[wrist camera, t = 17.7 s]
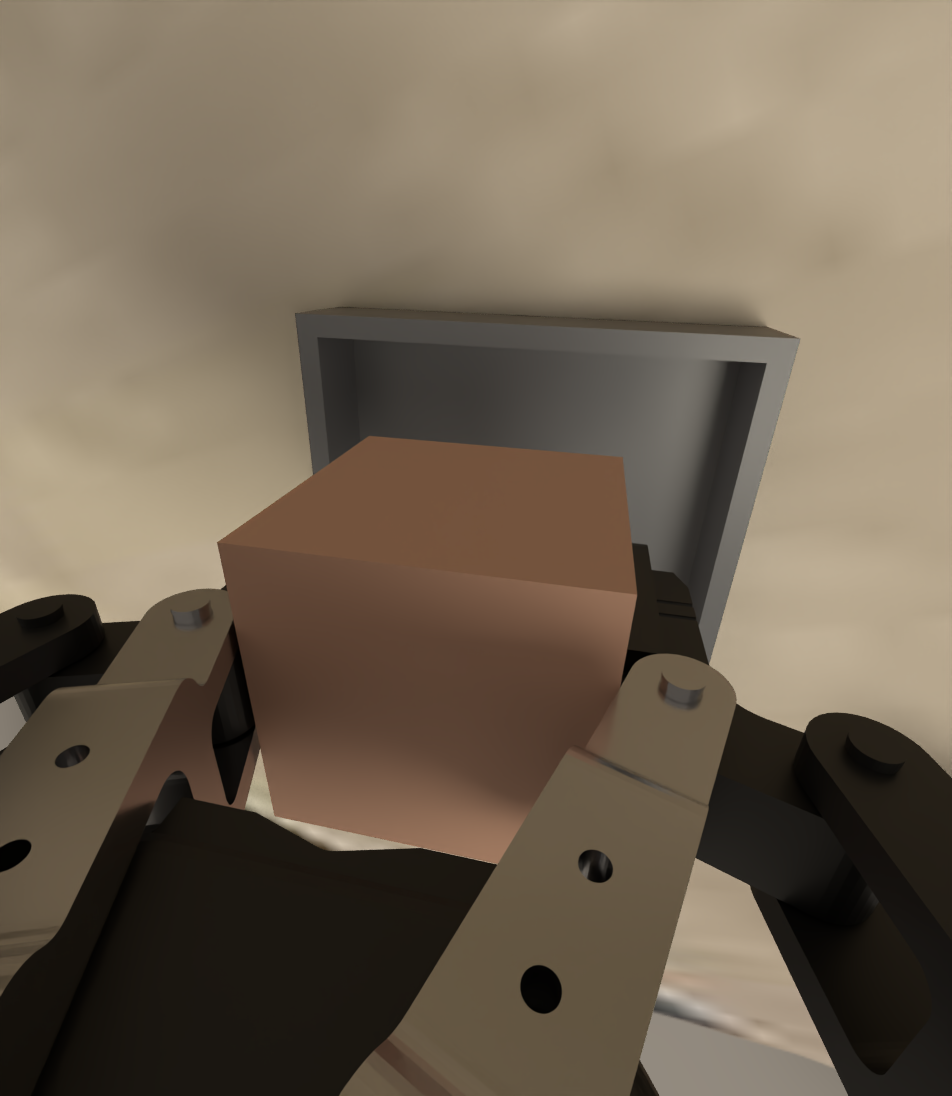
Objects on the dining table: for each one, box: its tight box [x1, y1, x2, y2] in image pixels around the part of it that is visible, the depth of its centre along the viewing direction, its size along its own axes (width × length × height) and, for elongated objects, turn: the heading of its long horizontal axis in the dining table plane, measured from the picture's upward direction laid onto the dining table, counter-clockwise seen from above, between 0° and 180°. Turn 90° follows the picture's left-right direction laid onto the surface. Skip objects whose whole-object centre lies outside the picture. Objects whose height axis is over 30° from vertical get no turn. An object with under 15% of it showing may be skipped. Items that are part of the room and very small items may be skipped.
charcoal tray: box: [295, 307, 800, 663], centre depth 20 cm, size 17×13×3 cm
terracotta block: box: [217, 436, 637, 864], centre depth 10 cm, size 5×5×5 cm
